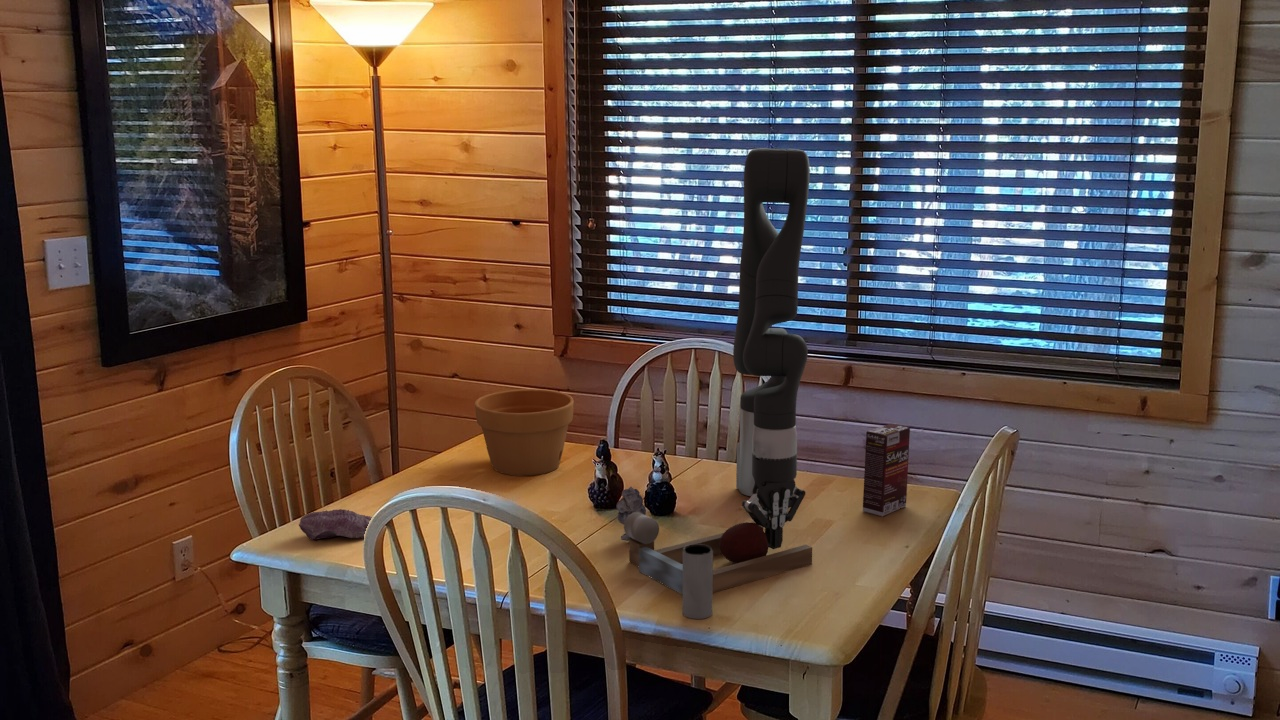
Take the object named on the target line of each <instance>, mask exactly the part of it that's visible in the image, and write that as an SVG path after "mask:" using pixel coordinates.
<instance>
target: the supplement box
mask: <svg viewBox="0 0 1280 720" xmlns="http://www.w3.org/2000/svg"><path fill="white" fill-rule="evenodd" d="M910 433H911V428H910V427H908V426H904V425H900V424H895V423H888V424H886V425H883V426H880V427H877V428H874V429H871V430H867V431H866V433H865V456H864V473H863V474H864V477H863V478H864V479H863V496H862V511H863V512H864V513H866V514H870V515H871V514H872V515H875V516H878V517H884V516H886V515H888V514H891V513H893V512H895V511H898V510H900V508H901V509H903V508H906V507H907V497H908V478H909V477H908V475H909V474H908V470H909V457H910V456H909V454H910V453H909V452H910V435H911V434H910ZM905 506H906V507H905Z"/></svg>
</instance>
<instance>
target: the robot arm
mask: <svg viewBox="0 0 1280 720" xmlns="http://www.w3.org/2000/svg"><path fill="white" fill-rule="evenodd" d="M747 153H748V154H747V155H746V159H745V162H744V169H743V170H744V171H743V230H742V231H743V233H742V242H741V253H740V263H739V279H738V280H739V282H738V283H739V289H738V291H739V292H738V295H739V296H738V312H737V320H736V327H735V333H734V339H733V349H732V350H733V351H732V352H733V353H732V357H733V358H732V359H733V364H734V367H735V370H736V371H737V373H739V374H741V375H746V376H757V377H769V379H768V380H767V381H765V382H764V383H763V384H760V385H758V386H756V387H754V388H751V389H748V390H745V391H743V393H742V394H741V395H740V399H739V400H740V402H739V407H740V410H739V411H740V412H739V413H740V415H739V417H740V418H739V420H740V421H739V442H737V443H736V470H735V471H736V481H735V482H736V483H735V485H736V486H735V487H736V489H738V490H739V493H740V494H742V495H744V496H748V497H750V498H749V499H748V500H746V499H745V500H743V501H742V502H741V506H742V508H743V509H744V511H745V512H746V513H747V514H748V515H749V517H750V518H751V519H752V521H753V523H756V524H757V525H760V526H762V527H763V529H764V532H765V534H766V537H767V540H768V547H769V548H770V549H772V550H776V549H779V548H781V547H782V544H783V539H784V538H783V537H784V535H783V534H784V527H785V525H786V523H787V522H792V520H793V519H794V517H795V515H796V513H797V511H798V510H799V508H800V505H801V504H802V502H803V500H804V498H805V496H806V493H807V492H806V490H804V489H801V488H798V487H797V486H796V481H795V479H796V478H797V472H798V471H797V469H798V467H797V464H798V435H797V426H796V425H797V419H796V418H797V399H798V393H799V387H800V383H801V379H802V376H803V374H804V370H805V367H806V366H807V365H806V364H807V360H808V357H809V355H808V354H809V353H808V351H809V350H808V345H807V343H806V341H805V339H803V337H802V336H800V335H798V334H794V333H788V332H787V330H786V329H785V328H783V327H782V328H781V327H772V326H775V325H777V324H783V323H786V322H790V321H793V320H794V319H795V318H796V317H797V314H798V303H799V272H800V270H799V269H800V258H801V250H802V245H803V241H804V240H803V239H804V232H805V225H806V224H805V223H806V218H807V209H808V200H809V189H810V180H811V179H810V176H811V172H810V171H811V169H810V159H809V156H808V153H807V152H806V151H805V150H803V149H798V148H797V149H796V148H769V147H759V148H753V149H752V150H750V151H748V152H747ZM764 203H770V204H788V210H787V215H786V219H785V222H784V223H783V225H782V227H781V229H780V231H779V232H778V230H777V229H776V227H775V226H774V225H773V224H772V222H771V220H770V219H769V217H768V215H767V213H766V210H765V207H764ZM769 548H768V549H769Z"/></svg>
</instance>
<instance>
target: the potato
mask: <svg viewBox="0 0 1280 720" xmlns="http://www.w3.org/2000/svg"><path fill="white" fill-rule="evenodd" d="M722 533H723V535H722V537H721V539H720V542H719V547H720V551H721V553H722V554H721V555H722V556H723V557H724V558H725V559H726V560H728V561H730V562H732V563H733V564H737V563H741V562H744V561H748V560H752V559H755V558H759V557H762V556H766V555H768V553H769V547H768V540H767V537H766V534H765V530H764V528H763V529H762V527H761V526H759V525H757V524H756V523H755V522H750V521H749V522H747V521H746V522H739V523H737V524H735V525H733V526H731V527H729V528H728V529H726V530H725V531H724V532H722Z"/></svg>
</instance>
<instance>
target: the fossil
mask: <svg viewBox="0 0 1280 720" xmlns="http://www.w3.org/2000/svg"><path fill="white" fill-rule="evenodd" d="M372 517H373V516H370V515H365V514H360V513H357V512H355V511H352V510H349V509H341V508H340V509H332V510H327V509H326V510H322V511H313V512H309V513H307V514H305V515H303V516H302V517H301V518H300V520H299V522H298V527H299V529H300V530H301V531H302V532H303V534H305V535H306V536H307V537H308V538H309V539H310V540H311V541H314V540H315V541H316V540H320V539H327V538H329V539H330V538H333V537H344V538H350V539H353V538H357V539H358V538H359V539H361V538H362V539H365V538H364V534H365V531H366V528H367V526H368V524H369V521H370V520H371V518H372Z"/></svg>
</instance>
